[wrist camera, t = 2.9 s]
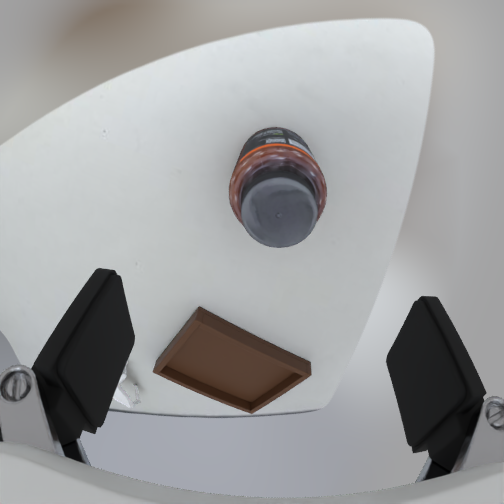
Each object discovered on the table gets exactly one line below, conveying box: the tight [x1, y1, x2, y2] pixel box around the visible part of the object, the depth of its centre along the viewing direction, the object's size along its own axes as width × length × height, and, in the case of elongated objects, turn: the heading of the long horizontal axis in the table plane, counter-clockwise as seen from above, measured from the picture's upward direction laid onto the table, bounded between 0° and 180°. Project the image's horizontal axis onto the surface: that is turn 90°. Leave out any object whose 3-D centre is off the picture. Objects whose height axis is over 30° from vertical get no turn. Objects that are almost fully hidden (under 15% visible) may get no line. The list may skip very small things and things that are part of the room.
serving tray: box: [153, 307, 311, 414], centre depth 39 cm, size 17×14×2 cm
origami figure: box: [113, 361, 140, 408], centre depth 41 cm, size 12×8×5 cm
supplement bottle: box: [229, 127, 327, 248], centre depth 20 cm, size 6×6×11 cm
